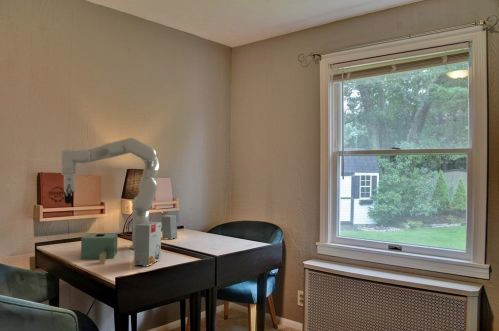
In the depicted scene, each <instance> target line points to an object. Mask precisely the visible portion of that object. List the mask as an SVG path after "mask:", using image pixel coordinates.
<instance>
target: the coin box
mask: <svg viewBox="0 0 499 331" xmlns="http://www.w3.org/2000/svg"><path fill="white" fill-rule="evenodd" d="M118 235H119V233H118V232H88V233H86V234H84V235H83V236H82V237H80V238H81V240H80V242H81V245H80V247H81V248H80V260H100V253H101V252H106V260H107V259H108V260H110V259H115V257H116V255H117V254H118V238H119V237H118Z"/></svg>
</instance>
